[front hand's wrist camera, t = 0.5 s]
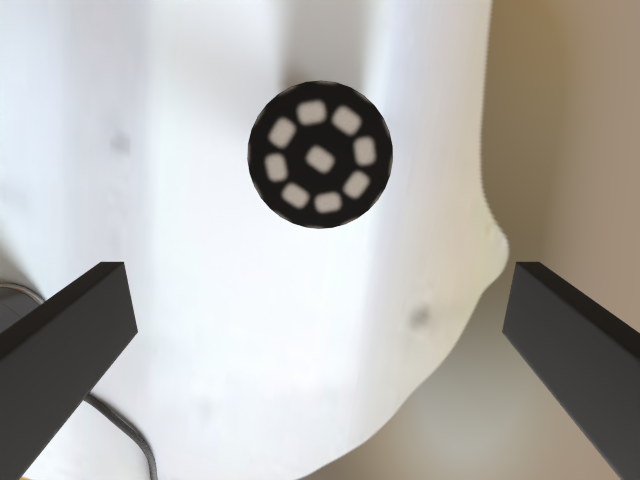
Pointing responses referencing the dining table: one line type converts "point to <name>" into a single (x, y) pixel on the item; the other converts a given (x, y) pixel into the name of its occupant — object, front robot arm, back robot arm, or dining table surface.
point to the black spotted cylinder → (320, 154)
